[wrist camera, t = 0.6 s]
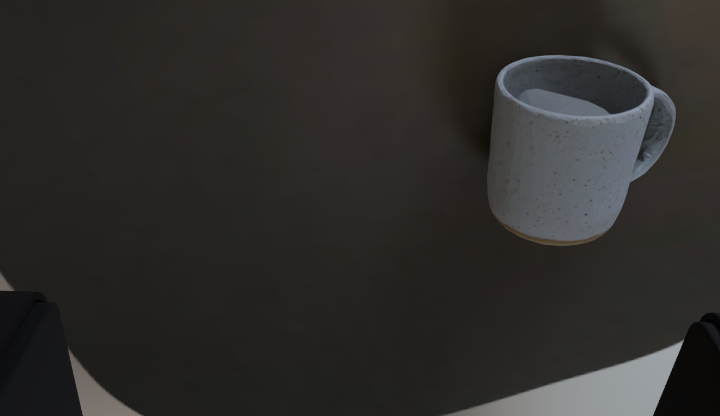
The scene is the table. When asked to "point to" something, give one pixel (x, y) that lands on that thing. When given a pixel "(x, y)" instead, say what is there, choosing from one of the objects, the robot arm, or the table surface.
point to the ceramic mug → (570, 145)
